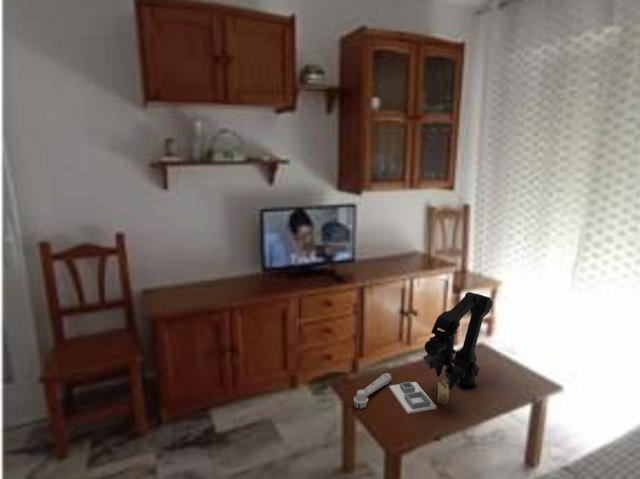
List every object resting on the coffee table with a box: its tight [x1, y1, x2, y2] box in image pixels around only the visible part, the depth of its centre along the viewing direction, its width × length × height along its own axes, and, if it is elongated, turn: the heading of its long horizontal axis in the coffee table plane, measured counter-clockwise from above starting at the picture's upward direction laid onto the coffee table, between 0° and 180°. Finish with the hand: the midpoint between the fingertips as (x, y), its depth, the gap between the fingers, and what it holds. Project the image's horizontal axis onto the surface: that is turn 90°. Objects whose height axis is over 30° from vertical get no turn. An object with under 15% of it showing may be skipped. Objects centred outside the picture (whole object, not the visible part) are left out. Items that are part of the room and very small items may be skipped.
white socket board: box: [388, 381, 437, 415], centre depth 178 cm, size 12×18×3 cm, turn 14°
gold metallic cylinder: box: [436, 379, 450, 405], centre depth 175 cm, size 4×4×8 cm
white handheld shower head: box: [353, 372, 393, 410], centre depth 181 cm, size 5×7×25 cm
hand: (444, 382), depth 174 cm, fingers open, 9 cm apart
